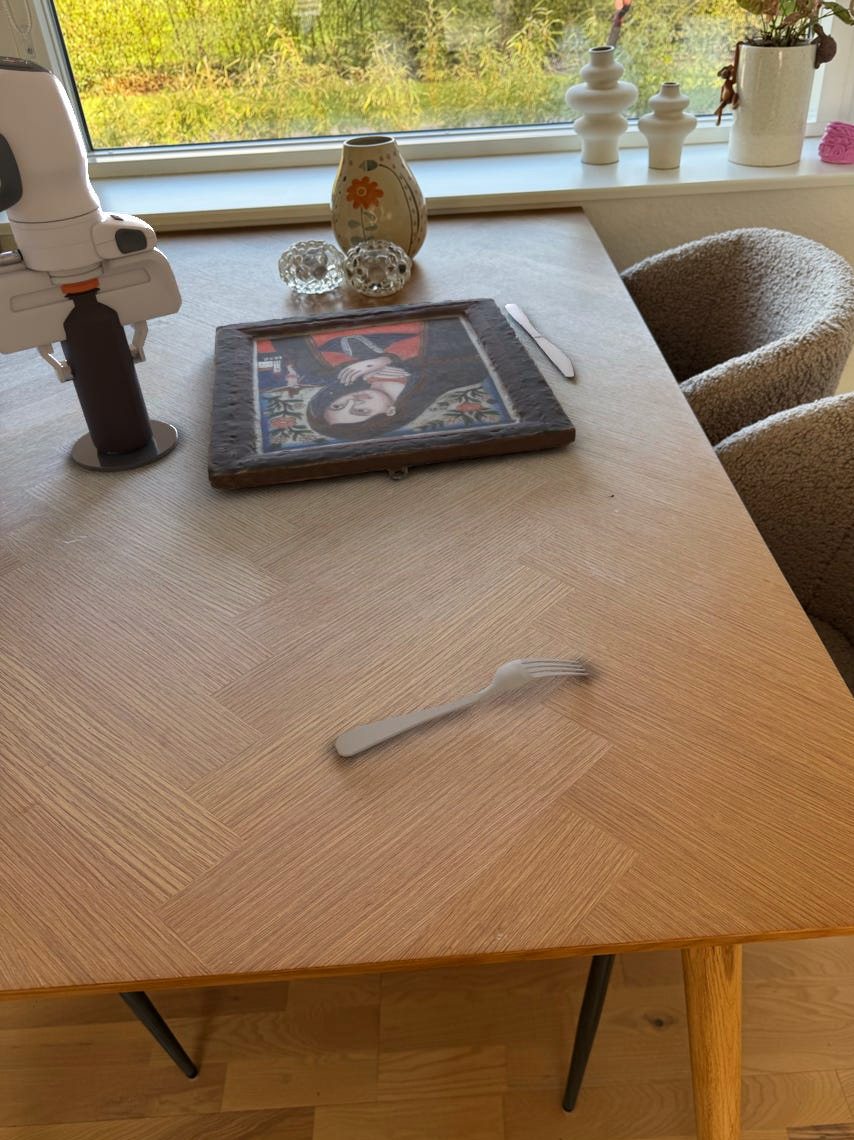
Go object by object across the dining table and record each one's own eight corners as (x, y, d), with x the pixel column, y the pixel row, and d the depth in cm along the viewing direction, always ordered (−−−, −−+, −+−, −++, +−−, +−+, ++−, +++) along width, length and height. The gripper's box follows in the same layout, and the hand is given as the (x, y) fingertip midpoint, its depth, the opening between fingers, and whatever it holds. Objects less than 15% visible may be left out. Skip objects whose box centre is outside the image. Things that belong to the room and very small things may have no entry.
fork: (339, 759, 74) (330, 735, 72) (575, 658, 79) (572, 633, 77) (350, 783, 72) (341, 759, 70) (592, 679, 77) (589, 653, 75)
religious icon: (211, 506, 100) (205, 481, 98) (214, 345, 134) (209, 324, 132) (581, 455, 105) (581, 430, 103) (493, 313, 140) (492, 292, 138)
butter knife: (522, 301, 141) (502, 303, 140) (584, 375, 121) (561, 377, 120) (521, 305, 141) (502, 307, 141) (583, 379, 121) (561, 381, 121)
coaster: (89, 482, 105) (87, 478, 105) (60, 441, 113) (59, 438, 113) (193, 450, 110) (192, 446, 110) (159, 413, 118) (157, 410, 118)
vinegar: (83, 443, 111) (24, 266, 99) (135, 422, 115) (85, 250, 102) (112, 460, 107) (55, 279, 95) (165, 439, 111) (116, 262, 98)
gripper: (-39, 270, 91) (12, 406, 99) (169, 227, 99) (199, 356, 108) (-51, 254, 95) (-1, 386, 104) (149, 215, 103) (180, 339, 112)
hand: (103, 370), depth 106 cm, fingers closed on vinegar, 6 cm apart
